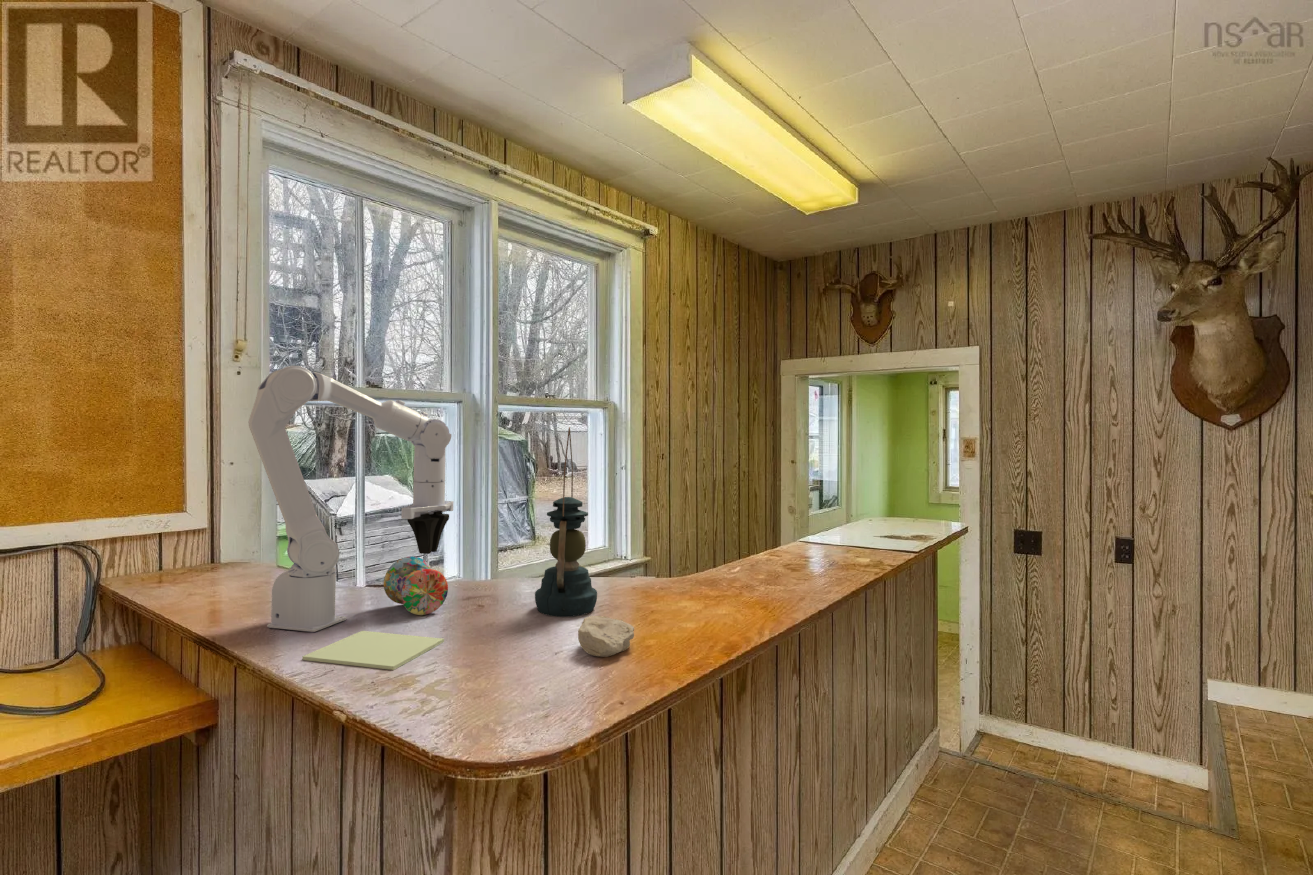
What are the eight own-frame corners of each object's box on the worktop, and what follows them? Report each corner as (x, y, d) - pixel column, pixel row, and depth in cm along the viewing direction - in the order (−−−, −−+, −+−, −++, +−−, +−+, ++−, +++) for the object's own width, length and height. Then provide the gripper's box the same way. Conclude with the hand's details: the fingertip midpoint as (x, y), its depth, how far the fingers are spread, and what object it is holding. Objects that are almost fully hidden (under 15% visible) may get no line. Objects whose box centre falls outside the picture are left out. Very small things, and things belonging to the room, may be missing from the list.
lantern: (592, 620, 117) (596, 427, 117) (527, 619, 117) (531, 425, 117) (600, 600, 131) (603, 428, 131) (542, 599, 131) (545, 427, 131)
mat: (302, 659, 94) (302, 656, 94) (362, 633, 107) (362, 630, 107) (393, 670, 91) (393, 666, 91) (444, 641, 103) (444, 638, 103)
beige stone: (640, 623, 106) (629, 614, 97) (633, 664, 103) (621, 660, 94) (589, 614, 108) (574, 605, 98) (581, 655, 105) (564, 650, 96)
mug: (422, 558, 117) (403, 547, 125) (389, 604, 113) (372, 589, 122) (472, 589, 123) (451, 577, 131) (443, 634, 120) (423, 618, 128)
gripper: (426, 484, 116) (425, 560, 116) (467, 480, 130) (466, 547, 130) (391, 483, 118) (390, 558, 118) (436, 478, 132) (434, 545, 132)
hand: (428, 552), depth 124 cm, fingers closed
